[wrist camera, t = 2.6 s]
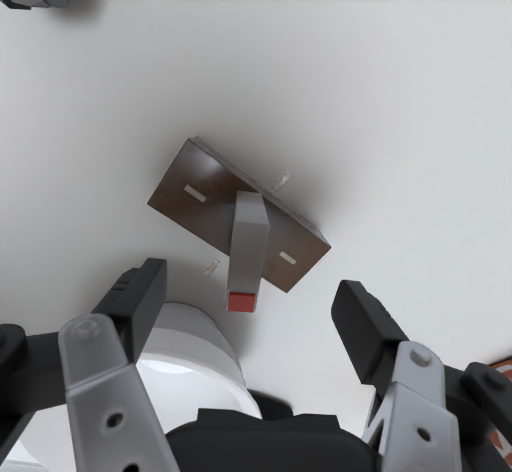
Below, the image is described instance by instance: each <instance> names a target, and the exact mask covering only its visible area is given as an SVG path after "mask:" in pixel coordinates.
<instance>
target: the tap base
mask: <svg viewBox="0 0 512 472" xmlns="http://www.w3.org/2000/svg"><path fill="white" fill-rule="evenodd" d="M290 176H291V174H290V173H288V172H287V171H286V172H285V174H284V175H283V176H282V177H281V179H280V180H279V181H278V182H277V183H276V185H275V186H274V187H273V190H274V191H276V192H278V190H279V189H280V188H281V187H282V186H283V184H284V183H285V182H286V181H287V179H288V178H289V177H290ZM237 191H246V192H254V193H261V195H262V198H263V202H264V206H265V209H266V213H267V217H268V220H269V224H270V228H269V234H268V240H267V245H266V251H265V257H264V263H263V268H262V274H261V277H262V278H264V279H265V280H267V281H268V282H270V283H272V284H273V285H275V286H276V287H278V288H279V289H281V290H283V291H284V292H286V293H288V292H289V291H290V290H291V288H292V287H293V286H294V285H295V284H296V283H297V282H298V281H299V280H300V279H301V278H302V277H303V276H304V275H305V274H306V273H307V272H308V271H309V270H310V269H311V268H312V267H313V266H314V265H315V264H316V263H317V262H318V261H319V260H320V259H321V258H322V257H323V256H324V255H325V254H326V253H327V252H328V251H329V250H330V249H331V246H330V245H329V243H328V242H327V240H326V239H325V238H324V236H323V235H322V234H321V232H320V231H319V230H318V229H316V228H315V227H314V226H312V225H311V224H310V223H309V222H307V221H306V220H305V219H303V218H302V217H301V216H299V215H298V214H297V213H296V212H294V211H293V210H292V209H290V208H289V207H288V206H286V205H285V204H284V203H283V202H281V201H280V200H279V199H277V198H276V197H275V196H274V195H272V194H271V193H270V192H268V191H267V190H266V189H264V188H263V187H262V186H261V185H259V184H258V183H257V182H255V181H254V180H253V179H251V178H250V177H249V176H248V175H246V174H245V173H244V172H242V171H241V170H240V169H238V168H237V167H236V166H235V165H233V164H232V163H231V162H229V161H228V160H227V159H226V158H224V157H223V156H222V155H220V154H219V153H218V152H216V151H215V150H214V149H213V148H211V147H210V146H209V145H207V144H206V143H205V142H203V141H202V140H201V139H200V138H198V137H197V136H196V137H193V138H189V139H187V141H186V142H185V144H184V146H183V147H182V149H181V150H180V152H179V153H178V155H177V157H176V158H175V160H174V161H173V163H172V165H171V166H170V168H169V169H168V171H167V172H166V174H165V176H164V177H163V179H162V180H161V182H160V184H159V185H158V187H157V188H156V190H155V191H154V193H153V195H152V196H151V198H150V199H149V201H148V203H147V204H148V205H149V206H151V207H152V208H154V209H155V210H157V211H159V212H160V213H162V214H163V215H165V216H166V217H168V218H170V219H171V220H173V221H174V222H176V223H177V224H179V225H181V226H182V227H184V228H185V229H187V230H188V231H190V232H192V233H193V234H195V235H196V236H198V237H199V238H201V239H202V240H204V241H206V242H207V243H209V244H210V245H212V246H213V247H215V248H217V249H218V250H220V251H221V252H223V253H224V254H226V255H228V256H229V257H230V248H231V238H232V229H233V220H234V211H235V202H236V193H237ZM219 263H220V261H218V260H216V259H215V261H214V262H213V263H212V264H211V266H210V267H209V268H208V269H207V271H206V272H205V274H206V275H208V276H209V275H210V274H211V273H212V271H213V270H214V269H215V268H216V267H217V265H218V264H219Z"/></svg>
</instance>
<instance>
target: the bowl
mask: <svg viewBox="0 0 512 472" xmlns="http://www.w3.org/2000/svg"><path fill="white" fill-rule="evenodd" d="M136 367H137V369H138V372H139V374H140V377H141V379H142V381H143V384H144V386H145V389H146V391H147V393H148V396H149V398H150V400H151V403H152V405H153V408H154V410H155V412H156V415H157V417H158V420H159V422H160V424H161V427H162V429H163V432H164V434H166V433H168V432H169V431H171V430H172V429H174V428H176V427H178V426H180V425H183V424H185V423H188V422H192V421H195V420H197V414H198V408H211V409H229V410H236V411H239V412H242V413H245V414H248V415H251V416H254V417H257V418H260V419H262V416H261V413H260V410H259V408H258V405H257V403H256V402H255V400H254V399H253V398H252V396H251V395H250V393H249V392H248V390H246V383H245V380H244V377H243V374H242V370H241V367H240V364H239V361H238V358H237V356H236V355H235V353H234V351H233V350H232V348H231V347H230V345H229V343H228V342H227V340H226V339H225V337H224V336H223V335H222V334H221V333H220V332H219V331H218V328H217V326H216V324H215V323H214V321H213V320H212V319H211V318H210V317H209V316H208V315H207V314H205V313H204V312H202V311H201V310H199V309H197V308H194V307H192V306H189V305H185V304H179V303H164V304H163V306H162V308H161V310H160V313H159V315H158V317H157V319H156V322H155V324H154V326H153V328H152V330H151V333H150V335H149V337H148V339H147V341H146V344H145V346H144V348H143V350H142V353H141V355H140V357H139V359H138V361H137V364H136ZM19 441H20V442H21V444H22V445H23V447H24V448H25V449H26V451H27V452H28V453H29V454H30V455H31V456H32V457H33V458H34V459H36V460H37V461H38V462H39V463H40V464H41V465H42V466H44V467H46V468H47V469H49V470H50V471H52V472H77V471H76V464H75V458H74V451H73V444H72V437H71V431H70V424H69V417H68V411H67V404H64V405H60V406H56V407H52V408H48V409H44V410H39V411H36V413H35V414H34V416H33V417H32V419H31V420H30V422H29V424H28V425H27V427H26V428H25V430H24V431H23V433H22V434H21V436H20V437H19Z"/></svg>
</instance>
